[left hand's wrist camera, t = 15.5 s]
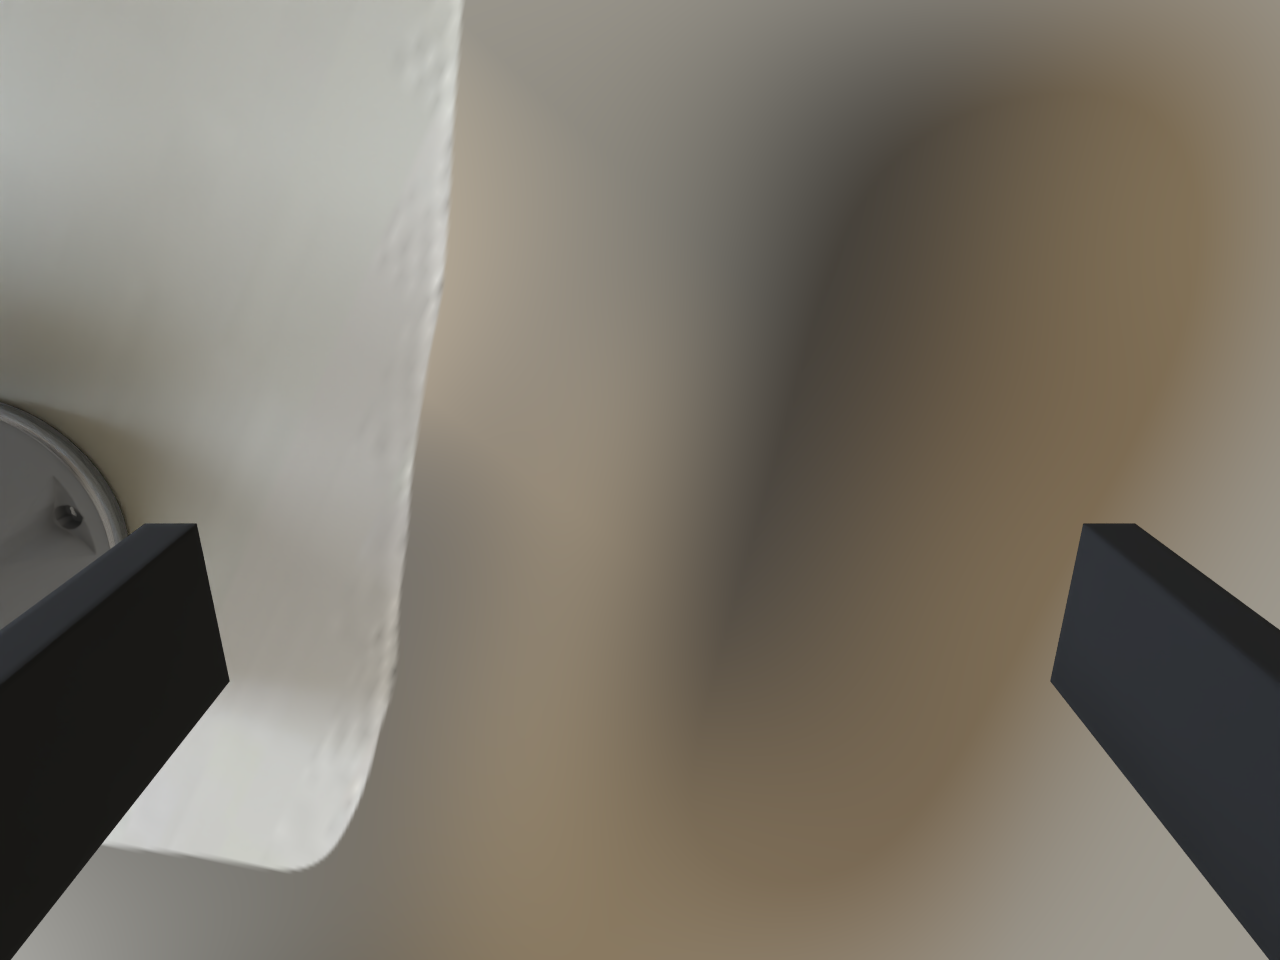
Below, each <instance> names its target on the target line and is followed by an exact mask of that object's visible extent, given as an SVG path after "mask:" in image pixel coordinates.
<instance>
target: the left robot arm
mask: <svg viewBox="0 0 1280 960" xmlns="http://www.w3.org/2000/svg"><path fill="white" fill-rule="evenodd" d="M228 683H229V676H228V671H227V666H226V661H225V657H224V652H223V647H222V642H221V638H220V633H219V628H218V623H217V618H216V614H215V609H214V604H213V599H212V595H211V590H210V585H209V580H208V575H207V571H206V566H205V561H204V556H203V551H202V547H201V542H200V537H199V532H198V528H197V524H144V525H142V526H141V527H140V528H138V529H137V530H136V531H134V532H133V533H131V534H130V535H129V536H128V533H127V528H126V524H125V520H124V517H123V515H122V512H121V509H120V506H119V504H118V502H117V500H116V498H115V496H114V494H113V492H112V490H111V489H110V487H109V485H108V483H107V482H106V480H105V479H104V478H103V476H102V475H101V473H100V472H99V470H98V469H97V468H96V467H95V466H94V464H93V463H92V462H91V461H90V460H89V459H88V458H87V456H86V455H85V454H84V453H83V452H82V451H81V450H80V449H79V448H78V447H77V446H75V445H74V444H73V443H72V442H71V441H70V440H69V439H67V438H66V437H65V436H64V435H62V434H61V433H60V432H58V431H57V430H56V429H54V428H53V427H51V426H50V425H48V424H46V423H45V422H43V421H42V420H40V419H38V418H36V417H35V416H33V415H31V414H29V413H27V412H25V411H23V410H20V409H18V408H16V407H14V406H11V405H8V404H5V403H3V402H0V960H11V959H12V957H13V956H14V955H15V954H16V952H17V951H18V950H19V948H20V947H21V946H22V945H23V943H24V942H25V941H26V940H27V938H28V937H29V936H30V934H31V933H32V932H33V931H34V929H35V928H36V927H37V926H38V924H39V923H40V922H41V920H42V919H43V918H44V917H45V915H46V914H47V913H48V912H49V910H50V909H51V908H52V907H53V905H54V904H55V903H56V901H57V900H58V899H59V898H60V896H61V895H62V894H63V893H64V891H65V890H66V889H67V887H68V886H69V885H70V884H71V882H72V881H73V880H74V879H75V877H76V876H77V875H78V873H79V872H80V871H81V870H82V868H83V867H84V866H85V865H86V863H87V862H88V861H89V859H90V858H91V857H92V856H93V854H94V853H95V852H96V851H97V849H98V848H99V847H100V845H101V844H102V843H103V842H104V840H105V839H106V838H107V837H108V835H109V834H110V833H111V831H112V830H113V829H114V828H115V826H116V825H117V824H118V823H119V821H120V820H121V819H122V818H123V816H124V815H125V814H126V812H127V811H128V810H129V809H130V807H131V806H132V805H133V804H134V802H135V801H136V800H137V798H138V797H139V796H140V795H141V793H142V792H143V791H144V790H145V788H146V787H147V786H148V784H149V783H150V782H151V781H152V779H153V778H154V777H155V776H156V774H157V773H158V772H159V770H160V769H161V768H162V767H163V765H164V764H165V763H166V762H167V760H168V759H169V758H170V756H171V755H172V754H173V753H174V751H175V750H176V749H177V748H178V746H179V745H180V744H181V742H182V741H183V740H184V739H185V737H186V736H187V735H188V734H189V732H190V731H191V730H192V728H193V727H194V726H195V725H196V723H197V722H198V721H199V720H200V718H201V717H202V716H203V714H204V713H205V712H206V711H207V709H208V708H209V707H210V706H211V704H212V703H213V702H214V700H215V699H216V698H217V697H218V695H219V694H220V693H221V692H222V690H223V689H224V688H225V686H226V685H227V684H228ZM1051 683H1052V684H1053V685H1054V686H1055V688H1056V689H1057V690H1058V691H1059V693H1060V694H1061V695H1062V697H1063V698H1064V699H1065V700H1066V702H1067V703H1068V704H1069V706H1070V707H1071V708H1072V709H1073V711H1074V712H1075V713H1076V714H1077V716H1078V717H1079V718H1080V719H1081V721H1082V722H1083V723H1084V725H1085V726H1086V727H1087V728H1088V730H1089V731H1090V732H1091V734H1092V735H1093V736H1094V737H1095V739H1096V740H1097V741H1098V742H1099V744H1100V745H1101V746H1102V747H1103V749H1104V750H1105V751H1106V753H1107V754H1108V755H1109V756H1110V758H1111V759H1112V760H1113V762H1114V763H1115V764H1116V765H1117V767H1118V768H1119V769H1120V770H1121V772H1122V773H1123V774H1124V776H1125V777H1126V778H1127V779H1128V781H1129V782H1130V783H1131V784H1132V786H1133V787H1134V788H1135V790H1136V791H1137V792H1138V793H1139V795H1140V796H1141V797H1142V798H1143V800H1144V801H1145V802H1146V803H1147V805H1148V806H1149V807H1150V809H1151V810H1152V811H1153V812H1154V814H1155V815H1156V816H1157V818H1158V819H1159V820H1160V821H1161V822H1162V824H1163V825H1164V826H1165V828H1166V829H1167V830H1168V831H1169V833H1170V834H1171V835H1172V837H1173V838H1174V839H1175V840H1176V842H1177V843H1178V844H1179V845H1180V847H1181V848H1182V849H1183V851H1184V852H1185V853H1186V854H1187V856H1188V857H1189V858H1190V859H1191V861H1192V862H1193V863H1194V865H1195V866H1196V867H1197V868H1198V870H1199V871H1200V872H1201V873H1202V875H1203V876H1204V877H1205V879H1206V880H1207V881H1208V882H1209V884H1210V885H1211V886H1212V887H1213V889H1214V890H1215V891H1216V892H1217V894H1218V895H1219V896H1220V898H1221V899H1222V900H1223V901H1224V903H1225V904H1226V905H1227V907H1228V908H1229V909H1230V910H1231V912H1232V913H1233V914H1234V915H1235V917H1236V918H1237V919H1238V921H1239V922H1240V923H1241V924H1242V926H1243V927H1244V928H1245V929H1246V931H1247V932H1248V933H1249V935H1250V936H1251V937H1252V938H1253V940H1254V941H1255V942H1256V943H1257V945H1258V946H1259V947H1260V949H1261V950H1262V951H1263V952H1264V954H1265V955H1266V956H1267V957H1268V959H1269V960H1280V630H1279V629H1278V628H1276V627H1275V626H1274V625H1272V624H1271V623H1269V622H1268V621H1267V620H1265V619H1264V618H1263V617H1261V616H1260V615H1259V614H1257V613H1256V612H1254V611H1253V610H1252V609H1250V608H1249V607H1248V606H1246V605H1245V604H1244V603H1242V602H1241V601H1240V600H1238V599H1237V598H1236V597H1234V596H1233V595H1231V594H1230V593H1229V592H1227V591H1226V590H1225V589H1223V588H1222V587H1221V586H1219V585H1218V584H1216V583H1215V582H1214V581H1212V580H1211V579H1210V578H1208V577H1207V576H1206V575H1204V574H1203V573H1202V572H1200V571H1199V570H1197V569H1196V568H1195V567H1193V566H1192V565H1191V564H1189V563H1188V562H1187V561H1185V560H1184V559H1183V558H1181V557H1180V556H1178V555H1177V554H1176V553H1174V552H1173V551H1172V550H1170V549H1169V548H1168V547H1166V546H1165V545H1164V544H1162V543H1161V542H1159V541H1158V540H1157V539H1155V538H1154V537H1153V536H1151V535H1150V534H1149V533H1147V532H1146V531H1144V530H1143V529H1142V528H1140V527H1139V526H1138V525H1136V524H1083V528H1082V533H1081V537H1080V542H1079V547H1078V552H1077V556H1076V561H1075V566H1074V571H1073V575H1072V580H1071V585H1070V590H1069V595H1068V599H1067V604H1066V609H1065V614H1064V619H1063V623H1062V628H1061V633H1060V638H1059V642H1058V647H1057V652H1056V657H1055V661H1054V666H1053V671H1052V676H1051Z"/></svg>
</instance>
